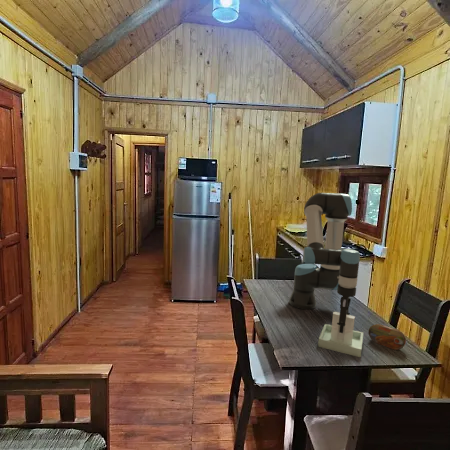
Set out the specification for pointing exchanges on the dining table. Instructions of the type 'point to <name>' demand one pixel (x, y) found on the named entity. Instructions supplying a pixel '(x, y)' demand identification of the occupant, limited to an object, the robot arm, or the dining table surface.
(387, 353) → the dining table surface
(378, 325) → the tin
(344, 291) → the robot arm
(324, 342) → the bin
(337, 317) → the base with upright slab
